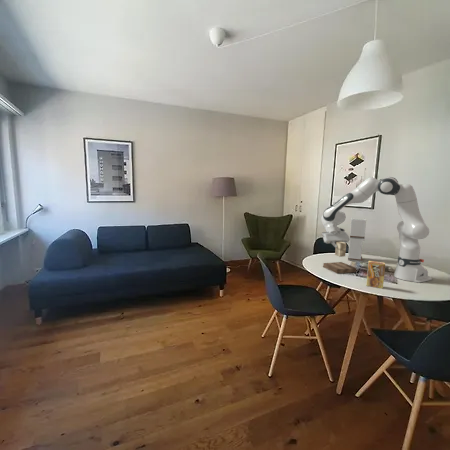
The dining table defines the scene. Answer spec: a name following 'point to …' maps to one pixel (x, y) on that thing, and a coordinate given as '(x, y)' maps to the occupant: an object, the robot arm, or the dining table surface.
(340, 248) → the birch block
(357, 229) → the display case
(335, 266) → the walnut plinth
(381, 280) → the candy box
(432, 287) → the dining table surface
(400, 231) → the robot arm
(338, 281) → the dining table surface
